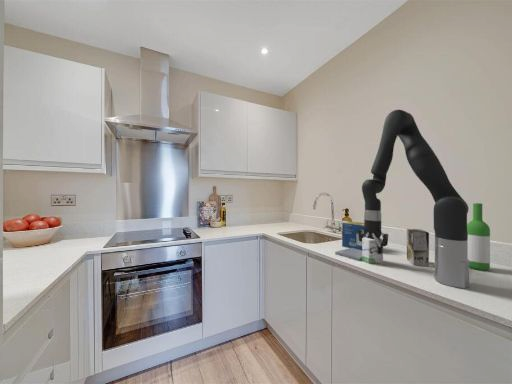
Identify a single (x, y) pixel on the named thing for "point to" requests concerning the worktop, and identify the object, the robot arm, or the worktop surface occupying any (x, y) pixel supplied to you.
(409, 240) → the coffee box
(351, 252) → the plate
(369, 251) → the ink box
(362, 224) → the protein box
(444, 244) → the robot arm
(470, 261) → the wine bottle
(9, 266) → the worktop surface
